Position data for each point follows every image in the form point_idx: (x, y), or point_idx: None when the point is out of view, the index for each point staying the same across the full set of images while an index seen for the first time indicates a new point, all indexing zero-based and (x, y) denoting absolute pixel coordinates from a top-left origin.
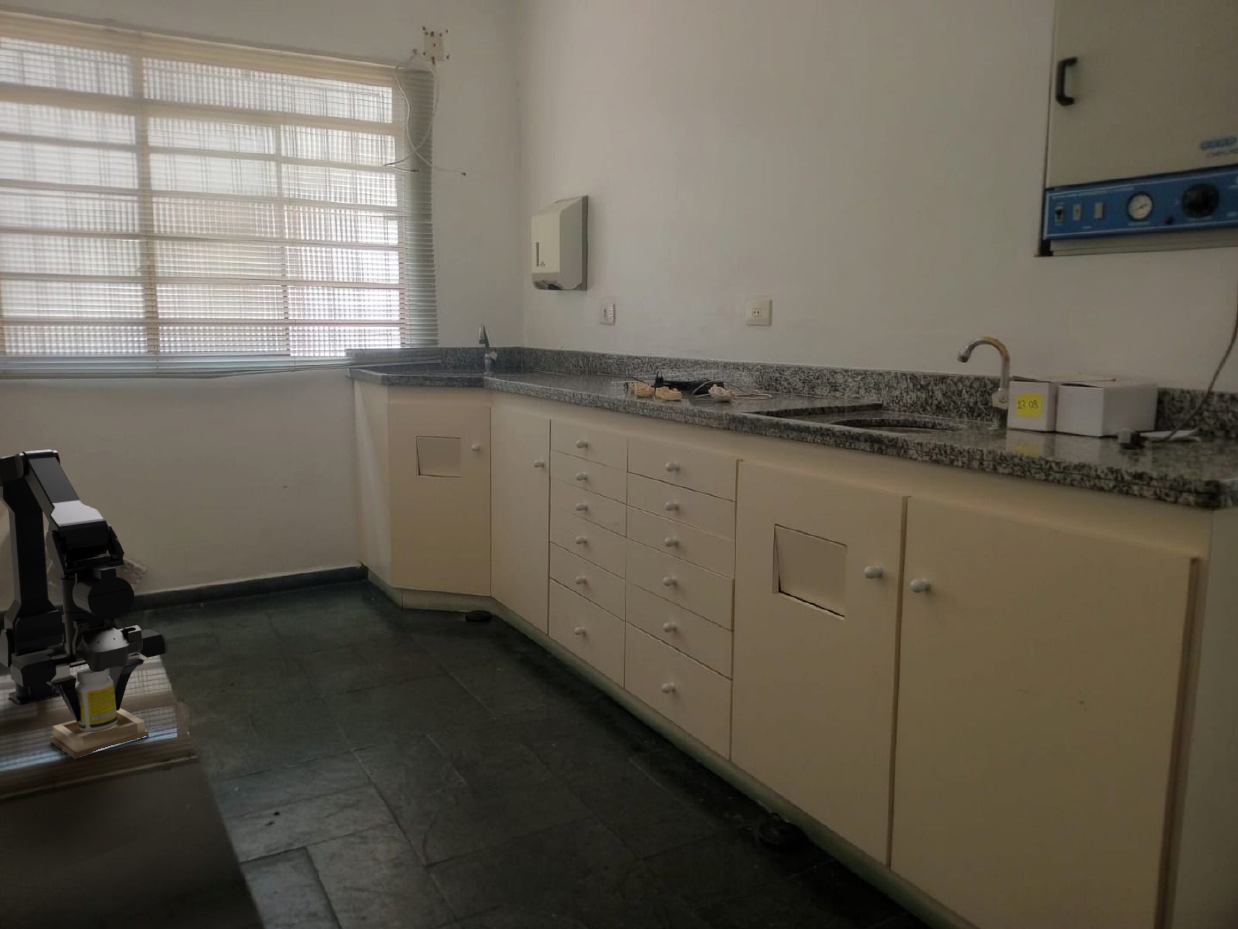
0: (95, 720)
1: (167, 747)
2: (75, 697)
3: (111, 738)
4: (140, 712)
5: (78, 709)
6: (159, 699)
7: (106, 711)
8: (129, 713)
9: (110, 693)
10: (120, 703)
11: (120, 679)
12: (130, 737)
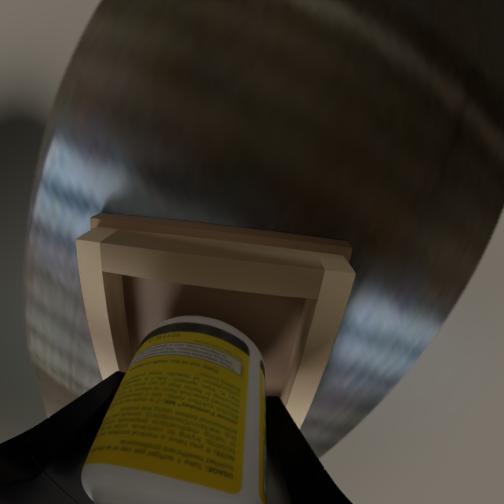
0: (228, 355)
1: (109, 63)
2: (297, 484)
3: (210, 242)
4: (84, 389)
5: (278, 432)
6: (52, 403)
7: (172, 362)
8: (98, 358)
9: (116, 428)
10: (102, 383)
11: (44, 460)
12: (148, 222)
